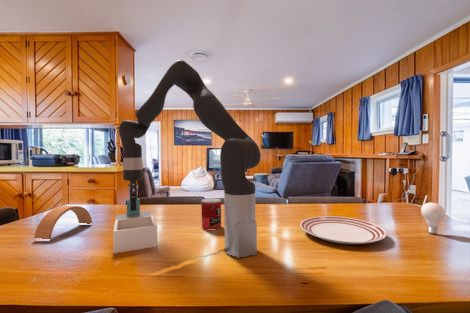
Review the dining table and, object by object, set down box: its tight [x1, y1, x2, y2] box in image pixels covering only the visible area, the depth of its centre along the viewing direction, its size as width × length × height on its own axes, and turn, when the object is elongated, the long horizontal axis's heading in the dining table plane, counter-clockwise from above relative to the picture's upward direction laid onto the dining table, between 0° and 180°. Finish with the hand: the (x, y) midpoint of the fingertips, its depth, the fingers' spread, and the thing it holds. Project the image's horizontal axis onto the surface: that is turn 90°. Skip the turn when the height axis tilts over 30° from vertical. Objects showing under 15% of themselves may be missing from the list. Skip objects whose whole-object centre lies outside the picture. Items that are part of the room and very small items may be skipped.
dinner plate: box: [299, 215, 388, 245], centre depth 83 cm, size 28×27×3 cm
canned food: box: [200, 197, 222, 230], centre depth 93 cm, size 8×8×11 cm
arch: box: [33, 205, 93, 239], centre depth 89 cm, size 6×20×10 cm, turn 172°
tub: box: [112, 215, 158, 254], centre depth 76 cm, size 14×12×7 cm
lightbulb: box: [420, 202, 446, 235], centre depth 82 cm, size 6×6×11 cm
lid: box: [115, 198, 152, 220], centre depth 92 cm, size 15×13×8 cm
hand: (133, 209), depth 98 cm, fingers closed on lid, 1 cm apart
